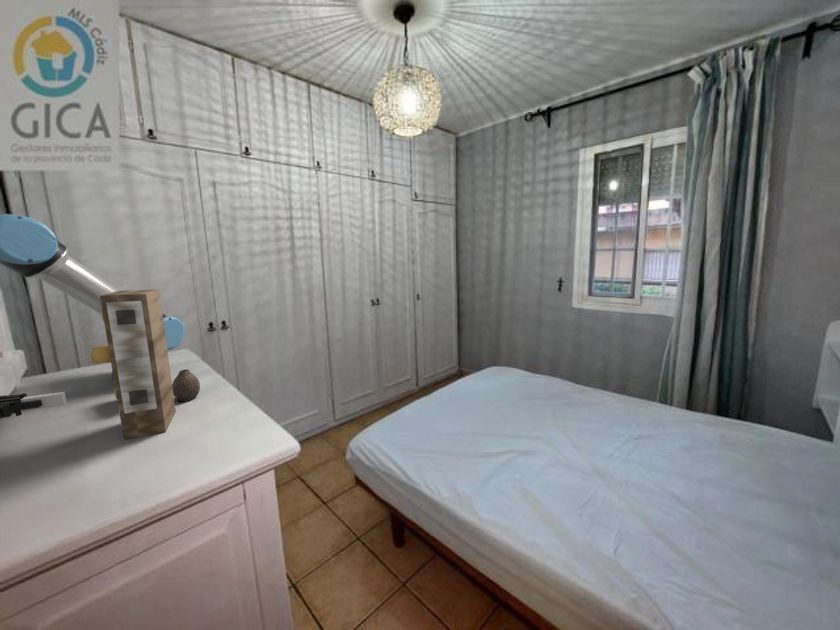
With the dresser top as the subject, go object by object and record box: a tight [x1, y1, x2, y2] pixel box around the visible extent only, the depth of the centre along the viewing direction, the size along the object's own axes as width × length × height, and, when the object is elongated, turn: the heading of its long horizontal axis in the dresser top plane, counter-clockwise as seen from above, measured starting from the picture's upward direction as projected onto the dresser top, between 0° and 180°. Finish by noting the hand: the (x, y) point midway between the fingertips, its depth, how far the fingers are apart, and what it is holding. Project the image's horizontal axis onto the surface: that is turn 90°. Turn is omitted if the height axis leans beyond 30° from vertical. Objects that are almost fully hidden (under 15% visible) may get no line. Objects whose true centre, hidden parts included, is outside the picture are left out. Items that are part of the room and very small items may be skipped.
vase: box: [172, 369, 201, 402], centre depth 100 cm, size 7×7×9 cm
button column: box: [100, 288, 177, 441], centre depth 82 cm, size 8×13×34 cm, turn 26°
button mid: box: [90, 345, 111, 365], centre depth 79 cm, size 4×4×4 cm
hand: (63, 398), depth 77 cm, fingers closed
